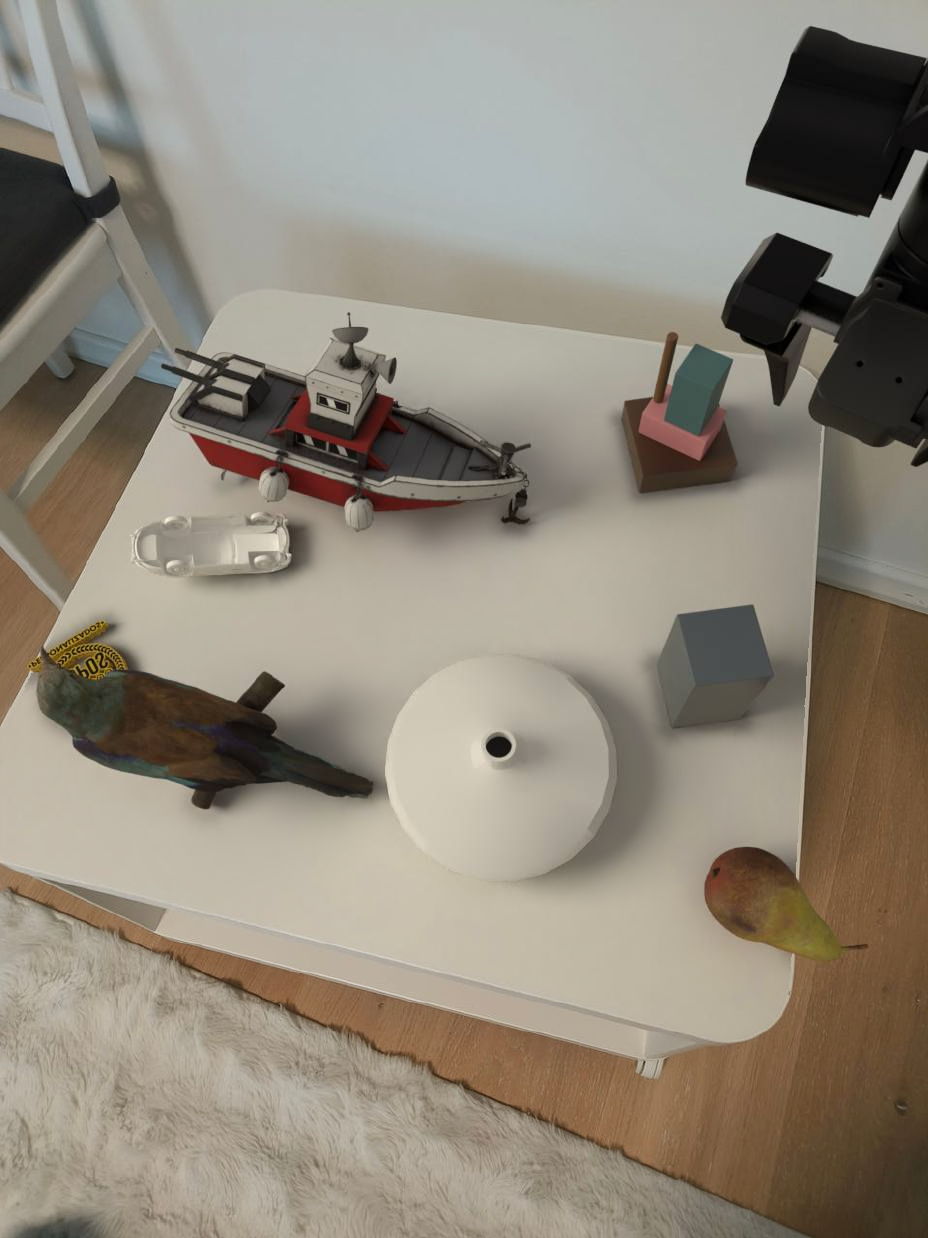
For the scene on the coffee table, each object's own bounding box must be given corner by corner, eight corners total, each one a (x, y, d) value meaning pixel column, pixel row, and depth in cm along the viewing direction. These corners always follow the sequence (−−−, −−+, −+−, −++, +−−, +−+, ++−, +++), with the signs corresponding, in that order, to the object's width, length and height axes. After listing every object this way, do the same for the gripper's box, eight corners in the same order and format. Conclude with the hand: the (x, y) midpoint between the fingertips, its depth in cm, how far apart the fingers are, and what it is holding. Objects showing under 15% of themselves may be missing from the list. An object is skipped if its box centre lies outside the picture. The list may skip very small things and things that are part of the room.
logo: (102, 617, 66) (146, 696, 63) (107, 621, 67) (150, 699, 64) (25, 664, 65) (66, 746, 62) (30, 667, 66) (71, 749, 63)
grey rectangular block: (723, 655, 63) (753, 603, 54) (740, 719, 61) (774, 675, 52) (656, 664, 63) (676, 613, 55) (671, 728, 61) (694, 686, 52)
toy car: (287, 507, 68) (286, 528, 71) (128, 514, 65) (135, 535, 68) (292, 561, 66) (291, 580, 69) (129, 570, 63) (136, 590, 66)
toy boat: (214, 405, 76) (200, 218, 62) (532, 507, 75) (588, 340, 62) (142, 501, 68) (108, 310, 54) (498, 616, 67) (554, 452, 54)
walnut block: (708, 407, 72) (714, 387, 70) (730, 481, 69) (737, 463, 66) (621, 419, 72) (624, 400, 70) (639, 493, 69) (643, 476, 67)
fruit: (753, 868, 49) (916, 990, 49) (743, 815, 54) (890, 925, 55) (689, 925, 51) (846, 1042, 51) (686, 869, 56) (828, 976, 57)
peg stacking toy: (720, 429, 68) (749, 346, 59) (700, 461, 67) (726, 381, 58) (659, 401, 69) (678, 316, 61) (637, 432, 68) (655, 350, 60)
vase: (396, 897, 57) (380, 885, 51) (386, 678, 64) (371, 642, 57) (629, 876, 57) (643, 860, 50) (595, 658, 63) (604, 619, 57)
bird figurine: (399, 714, 61) (180, 585, 47) (359, 850, 58) (108, 754, 44) (278, 707, 69) (60, 595, 55) (236, 826, 66) (-8, 739, 52)
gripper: (705, 268, 41) (657, 457, 55) (1111, 432, 35) (941, 594, 50) (804, 129, 44) (734, 341, 58) (1185, 261, 39) (1007, 458, 53)
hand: (845, 430), depth 55 cm, fingers open, 9 cm apart
